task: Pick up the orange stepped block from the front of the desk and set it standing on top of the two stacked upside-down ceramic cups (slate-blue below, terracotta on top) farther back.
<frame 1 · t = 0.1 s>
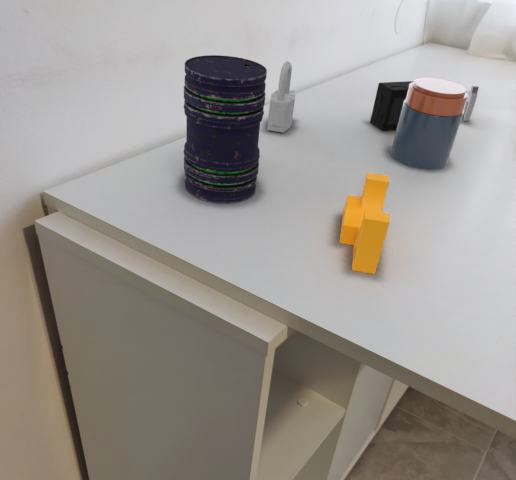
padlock: (279, 126, 92), on the table
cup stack: (418, 157, 87), on the table
orange stepped block: (357, 245, 64), on the table
caliper: (458, 107, 110), on the table
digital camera: (400, 127, 98), on the table
storage jar: (220, 188, 73), on the table
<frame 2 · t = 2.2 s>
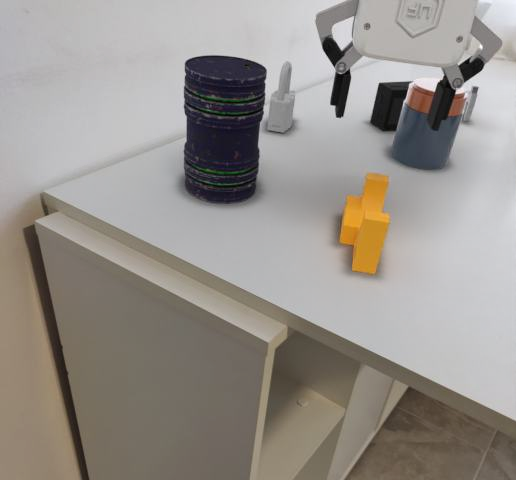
hand: (385, 119, 55), 15 cm above the table, tool pointing down, fingers open, 9 cm apart
nothing on the table moved.
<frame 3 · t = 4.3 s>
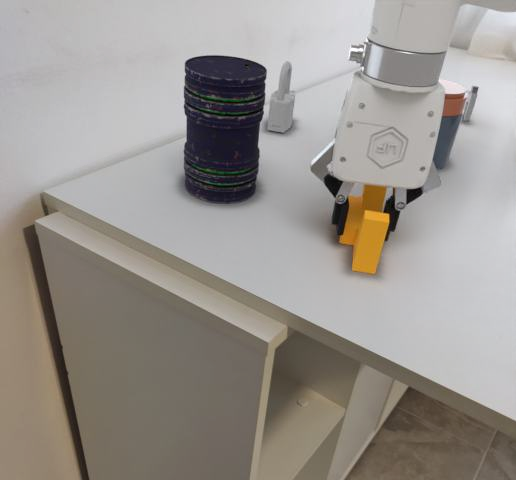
hand: (361, 231, 63), 2 cm above the table, tool pointing down, fingers closed on orange stepped block, 4 cm apart
orange stepped block: (357, 245, 64), on the table, touching gripper
everything else where it was.
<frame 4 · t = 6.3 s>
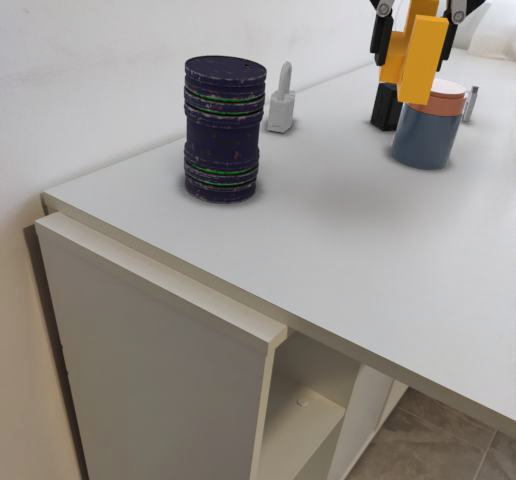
hand: (406, 63, 51), 20 cm above the table, tool pointing down, fingers closed on orange stepped block, 4 cm apart
orange stepped block: (400, 85, 53), point 18 cm above the table, touching gripper
everything else where it was.
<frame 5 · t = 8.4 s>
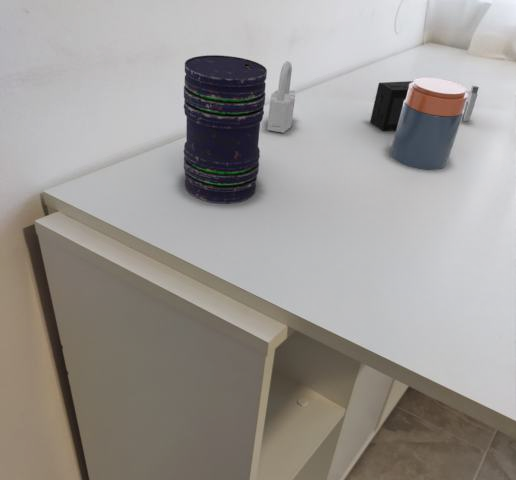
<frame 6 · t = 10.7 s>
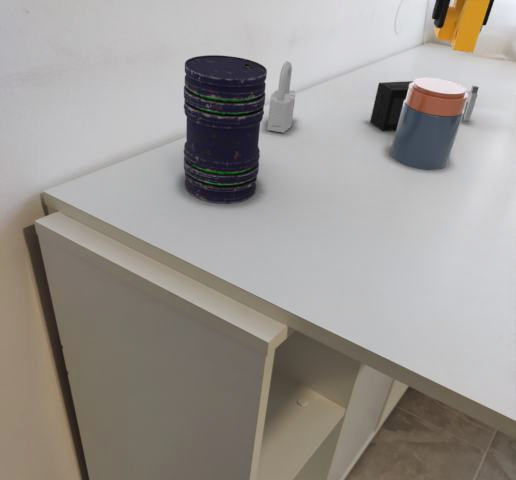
hand: (456, 26, 75), 19 cm above the table, tool pointing down, fingers closed on orange stepped block, 4 cm apart
orange stepped block: (451, 42, 76), point 17 cm above the table, touching gripper
everything else where it was.
when the fingers open (13 cm above the table, at t = 12.5 s): orange stepped block stays where it is, resting on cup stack.
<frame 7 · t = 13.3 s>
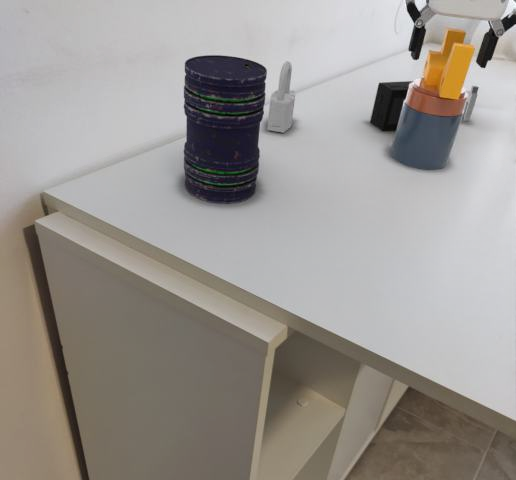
hand: (447, 61, 77), 14 cm above the table, tool pointing down, fingers open, 9 cm apart
orange stepped block: (439, 86, 80), point 11 cm above the table, touching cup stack
everything else where it was.
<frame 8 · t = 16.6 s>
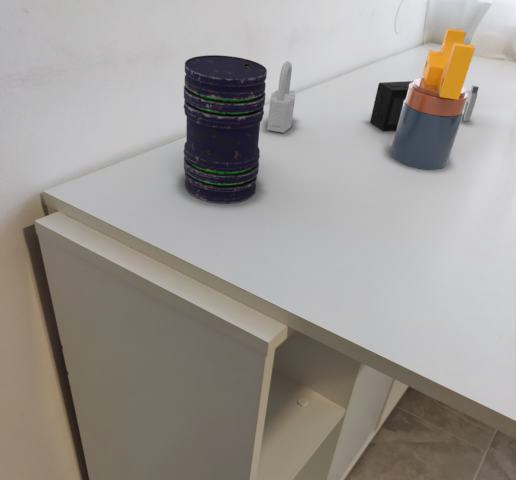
nothing on the table moved.
at the end: orange stepped block 0.0 cm off-centre on the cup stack, point 10.8 cm above the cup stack's base; orange stepped block tilted 0° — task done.
